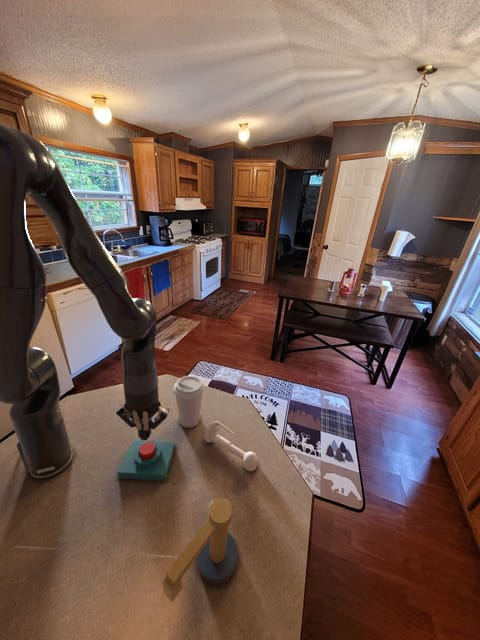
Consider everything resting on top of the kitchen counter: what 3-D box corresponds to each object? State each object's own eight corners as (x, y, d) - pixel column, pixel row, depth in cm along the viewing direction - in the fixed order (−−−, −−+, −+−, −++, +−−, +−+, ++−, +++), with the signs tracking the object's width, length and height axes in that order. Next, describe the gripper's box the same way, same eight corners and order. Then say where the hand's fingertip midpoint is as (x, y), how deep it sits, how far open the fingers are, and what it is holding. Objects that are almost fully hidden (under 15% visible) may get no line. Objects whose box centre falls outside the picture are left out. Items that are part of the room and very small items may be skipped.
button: (137, 458, 66) (136, 454, 66) (143, 445, 70) (142, 441, 69) (152, 459, 66) (152, 455, 66) (157, 446, 70) (157, 442, 69)
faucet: (245, 482, 71) (258, 465, 66) (200, 437, 77) (209, 419, 71) (252, 471, 74) (266, 454, 69) (209, 429, 80) (218, 411, 75)
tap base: (194, 583, 48) (194, 544, 43) (200, 533, 55) (201, 495, 50) (236, 586, 48) (241, 547, 43) (237, 536, 55) (241, 498, 50)
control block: (118, 478, 65) (116, 467, 63) (134, 445, 74) (132, 435, 73) (165, 481, 65) (164, 470, 63) (175, 447, 74) (174, 437, 73)
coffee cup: (169, 418, 84) (167, 381, 79) (193, 405, 91) (193, 370, 85) (184, 436, 78) (183, 398, 72) (209, 421, 84) (210, 385, 78)
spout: (218, 508, 50) (219, 493, 48) (235, 523, 48) (236, 508, 46) (158, 585, 39) (156, 569, 37) (176, 609, 37) (175, 593, 35)
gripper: (104, 391, 56) (113, 447, 62) (164, 396, 56) (166, 451, 63) (119, 371, 63) (126, 424, 69) (173, 376, 63) (174, 428, 70)
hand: (145, 437), depth 66 cm, fingers closed
